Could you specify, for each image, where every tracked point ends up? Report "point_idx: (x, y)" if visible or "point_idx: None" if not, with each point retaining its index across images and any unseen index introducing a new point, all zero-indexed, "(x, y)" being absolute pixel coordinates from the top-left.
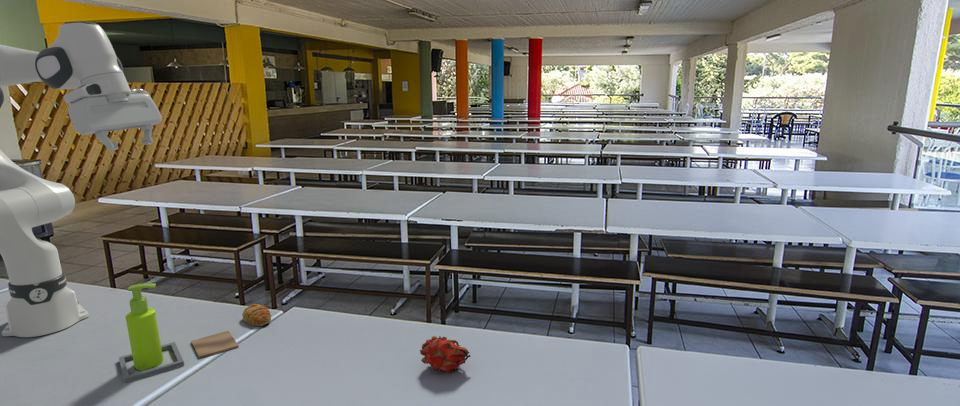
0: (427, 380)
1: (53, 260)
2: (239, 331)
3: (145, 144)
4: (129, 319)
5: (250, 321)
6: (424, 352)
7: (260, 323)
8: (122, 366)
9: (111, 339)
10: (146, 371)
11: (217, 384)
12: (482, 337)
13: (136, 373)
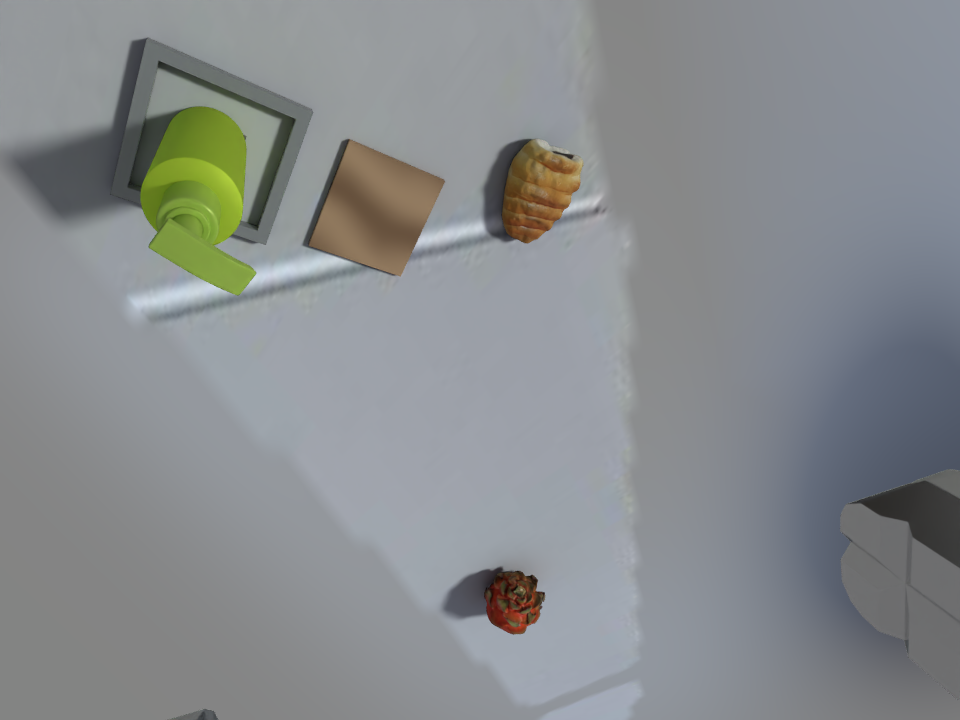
0: (466, 586)
1: None
2: (461, 200)
3: (847, 532)
4: (145, 214)
5: (505, 201)
6: (496, 601)
7: (508, 232)
8: (133, 116)
9: None
10: None
11: (266, 374)
12: (610, 564)
13: None
